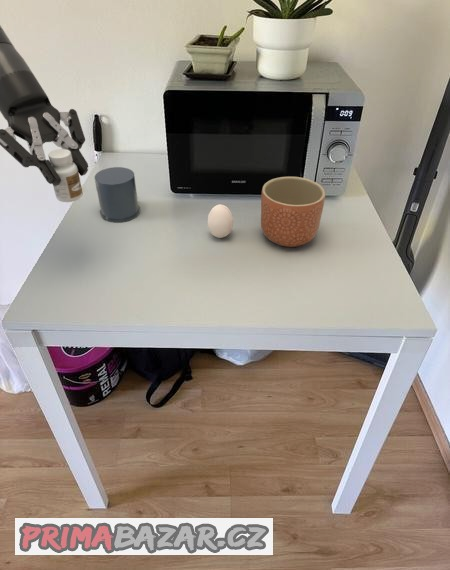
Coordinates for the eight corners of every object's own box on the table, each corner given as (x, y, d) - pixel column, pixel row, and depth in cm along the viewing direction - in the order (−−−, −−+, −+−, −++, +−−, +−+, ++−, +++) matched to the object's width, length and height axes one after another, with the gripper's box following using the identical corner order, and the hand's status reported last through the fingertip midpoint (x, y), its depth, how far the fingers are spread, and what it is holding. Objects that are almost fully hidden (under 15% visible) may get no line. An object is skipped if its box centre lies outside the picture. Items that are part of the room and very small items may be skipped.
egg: (236, 240, 92) (237, 209, 87) (212, 245, 91) (212, 214, 86) (227, 227, 96) (227, 197, 91) (204, 232, 94) (203, 201, 90)
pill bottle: (79, 203, 73) (69, 159, 68) (53, 202, 73) (41, 158, 68) (86, 190, 77) (77, 147, 72) (61, 190, 77) (50, 147, 72)
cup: (104, 226, 96) (97, 188, 90) (96, 206, 102) (89, 170, 97) (145, 217, 99) (140, 180, 93) (134, 199, 105) (129, 163, 99)
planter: (321, 255, 88) (330, 206, 81) (259, 253, 88) (263, 205, 81) (313, 222, 98) (320, 176, 91) (257, 221, 98) (260, 175, 91)
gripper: (-33, 79, 63) (36, 184, 64) (56, 60, 71) (115, 153, 73) (-36, 108, 69) (27, 203, 70) (46, 88, 77) (100, 173, 79)
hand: (71, 177), depth 71 cm, fingers closed on pill bottle, 4 cm apart
